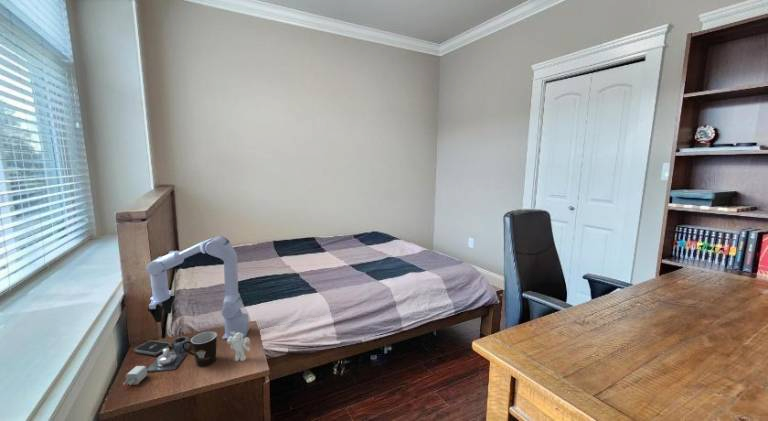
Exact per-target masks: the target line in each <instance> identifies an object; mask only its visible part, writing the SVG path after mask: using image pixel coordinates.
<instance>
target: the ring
mask: <svg viewBox="0 0 768 421" xmlns="http://www.w3.org/2000/svg"><path fill="white" fill-rule="evenodd" d="M187 341H190V338H189V337H188V336H186V335H185V336H183V335H182V336H179V337H176V338H174V339H173V340H172V341H171V348H172V349H171V350H172V352H175V353H185V352H186V351H185V350H183V348H182V345H183V343H184V342H187ZM190 345H191V344H190V343H186V344H184V348H185V349H186V350H188V351H189V348H190V347H191V346H190Z"/></svg>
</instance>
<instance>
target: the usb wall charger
mask: <svg viewBox="0 0 768 421" xmlns="http://www.w3.org/2000/svg"><path fill="white" fill-rule="evenodd" d="M147 369H148V367H147V366H146V365H136V366H135V367H133V368H132V369H131V370H130V371H128V372H127V373H126V374H125V381H124V382H123V383H122V386H125V385H126V384H127V385H128V384H129V386H131V385H139V384H140V383H141V382H142V381H143V380H145V378H146V377H147V376H148V372H147Z"/></svg>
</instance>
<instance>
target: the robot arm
mask: <svg viewBox="0 0 768 421" xmlns="http://www.w3.org/2000/svg"><path fill="white" fill-rule="evenodd" d="M199 253H202V254H208V255H210V256H212V257H215V258H219V259H220V260H222V261H223V270H224V271H223V272H224V274H223V275H224V300H223V303H222V304H223V306H222V308H221V311H220V312H221V313H220V314H221V316H222V317H223V322H224V332H225V333H224V334H223V336H222V337H221V338H222V340H227V339H229V338H228V337H230V336H232V337H233V336H234V335H233V334H231V333H230V331H231V332H235V334H236V333H238V332H240V333H241V334H243V338H245V337H247V334H248V332H249V330H250V324H249V314H248V313H243V312H242V309H241V308H242V307H243V300H242V297H241V294H240V293H239V281H238V280H239V279H238V277H239V275H238V254H237V252H236V251H235V249H234V247H233V246H232V244H231V240H229V239H228V238H227V237H225V236H223V235H218V236H216V237H212V238H209V239H206V240H203V241H201V242H198V243H196V244H195V245H192V246H190V247H188V248H186V249H184V250H181V251H180V250H170V251H169V252H168V254H165V255H163V256H162V255H160V256H158V257H157V258H156V259H154V260H152V261H150V262H149V263H147V265H146V268H145V269H146V272H147V273H148V275H149V278H150V285H151V286H150V287H151V293H152V296H151V297H150V299H149V300H150V301H151V302H150V303H149V304H148V307H147V309H146V311H148V312H149V313H150V314H151V315H152V317H153V319H154V321H155V322H154V323H162V321H163V312H164V314H165V315H166V314H167V315H169V314H171V313H172V309H173V304H174V301H175V298H176V295H173V290H172V289H171V290H170V289H169V281H168V274H167V271H168V270H169V269H172V268H174V267H176V266H179V265H181V264H183V263H184V262H185V261H184V260H185V259H187V258H189V257H191V256H194V255H196V254H199ZM160 304H161V305H160Z"/></svg>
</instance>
